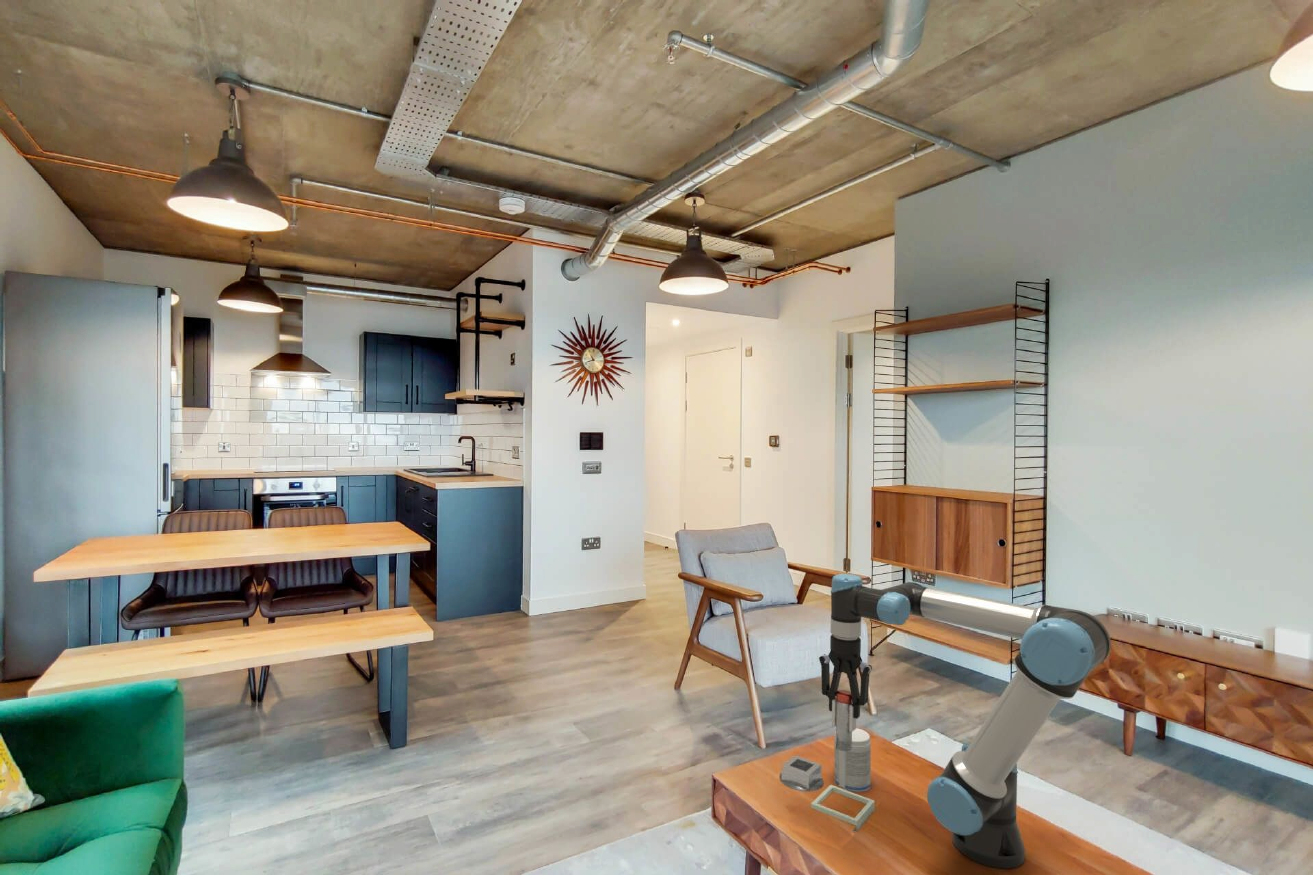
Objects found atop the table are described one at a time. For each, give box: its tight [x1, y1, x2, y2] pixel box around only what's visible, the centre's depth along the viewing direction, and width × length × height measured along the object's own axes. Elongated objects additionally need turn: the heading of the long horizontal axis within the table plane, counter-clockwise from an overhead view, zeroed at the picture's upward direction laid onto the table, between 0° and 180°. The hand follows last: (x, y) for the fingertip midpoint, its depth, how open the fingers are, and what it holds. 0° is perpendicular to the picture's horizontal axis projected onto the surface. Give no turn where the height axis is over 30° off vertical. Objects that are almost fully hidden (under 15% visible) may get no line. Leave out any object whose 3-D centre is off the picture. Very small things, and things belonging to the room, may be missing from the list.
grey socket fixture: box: [778, 755, 825, 793], centre depth 177 cm, size 12×12×6 cm
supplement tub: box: [833, 727, 872, 792], centre depth 177 cm, size 10×10×15 cm
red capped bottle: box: [835, 689, 853, 751], centre depth 165 cm, size 4×4×14 cm
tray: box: [810, 784, 876, 832], centre depth 165 cm, size 12×12×2 cm
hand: (843, 726), depth 165 cm, fingers closed on red capped bottle, 4 cm apart
